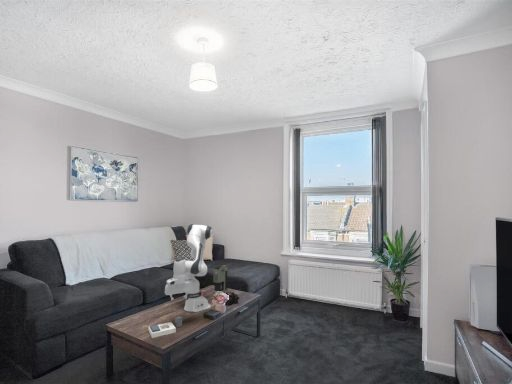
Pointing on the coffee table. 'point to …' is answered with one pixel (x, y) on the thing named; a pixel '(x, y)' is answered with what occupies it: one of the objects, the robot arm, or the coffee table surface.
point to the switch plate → (161, 329)
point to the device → (220, 278)
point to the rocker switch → (178, 321)
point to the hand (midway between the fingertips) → (178, 299)
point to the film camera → (232, 298)
